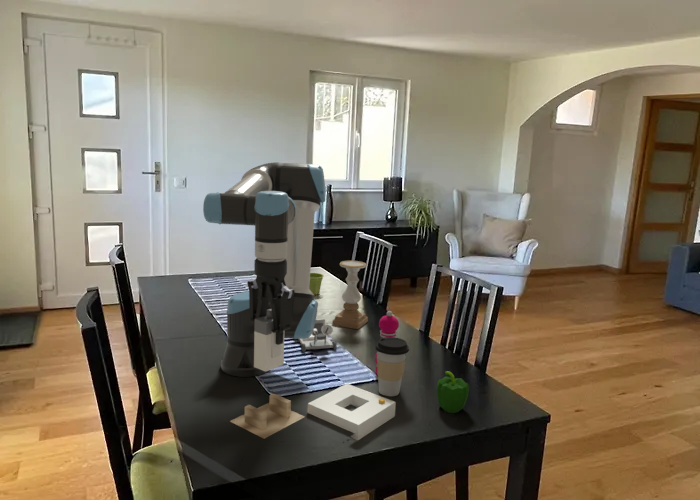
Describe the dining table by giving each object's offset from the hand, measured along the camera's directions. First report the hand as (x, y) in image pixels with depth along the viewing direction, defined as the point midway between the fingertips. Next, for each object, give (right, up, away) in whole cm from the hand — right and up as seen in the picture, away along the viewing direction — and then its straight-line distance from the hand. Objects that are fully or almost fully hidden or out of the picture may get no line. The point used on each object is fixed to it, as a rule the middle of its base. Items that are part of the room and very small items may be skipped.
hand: (269, 353), depth 133 cm
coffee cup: (+31, -16, +25) cm, 42 cm away
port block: (+20, -18, +9) cm, 28 cm away
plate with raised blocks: (-1, -18, +4) cm, 19 cm away
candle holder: (+20, -4, +83) cm, 85 cm away
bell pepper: (+47, -18, +16) cm, 53 cm away
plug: (0, -3, +1) cm, 3 cm away
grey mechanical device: (+7, -8, +58) cm, 59 cm away
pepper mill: (+30, -13, +37) cm, 50 cm away
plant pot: (+2, +5, +122) cm, 122 cm away
